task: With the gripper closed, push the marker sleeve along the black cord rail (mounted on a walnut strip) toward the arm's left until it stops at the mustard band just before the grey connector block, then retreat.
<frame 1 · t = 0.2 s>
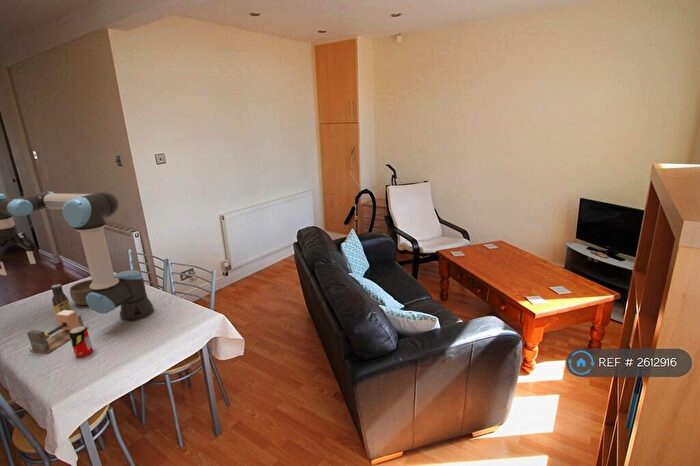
hand: (18, 269, 177), 28 cm above the table, fingers open, 13 cm apart
sauce bottle: (66, 322, 182), on the table
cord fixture: (60, 339, 168), on the table
marker sleeve: (67, 320, 171), point 7 cm above the table, slide at 0.0 cm
beverage can: (84, 353, 157), on the table
bowl: (92, 301, 203), on the table
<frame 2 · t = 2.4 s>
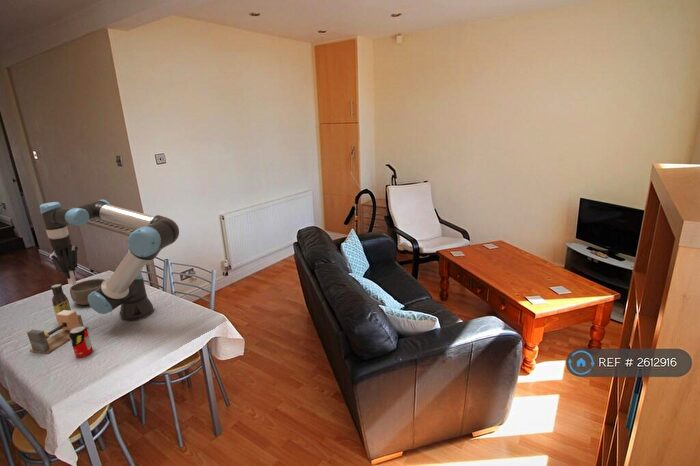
hand: (72, 283, 172), 22 cm above the table, fingers closed
nothing on the table moved.
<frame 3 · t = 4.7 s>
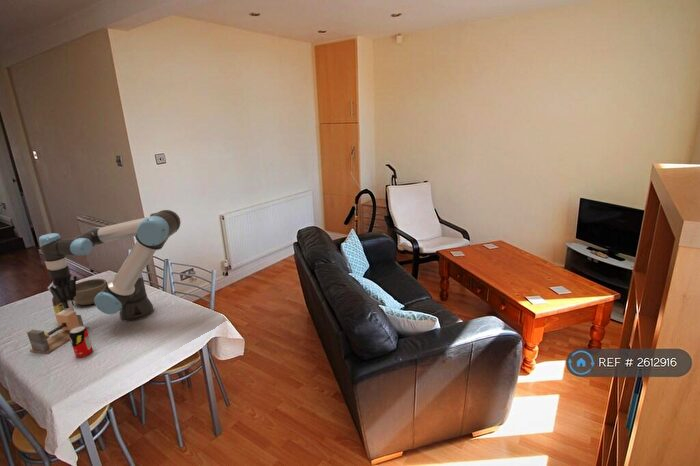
hand: (71, 313, 172), 9 cm above the table, fingers closed
marker sleeve: (67, 320, 171), point 7 cm above the table, slide at 0.1 cm, touching gripper
everything else where it was.
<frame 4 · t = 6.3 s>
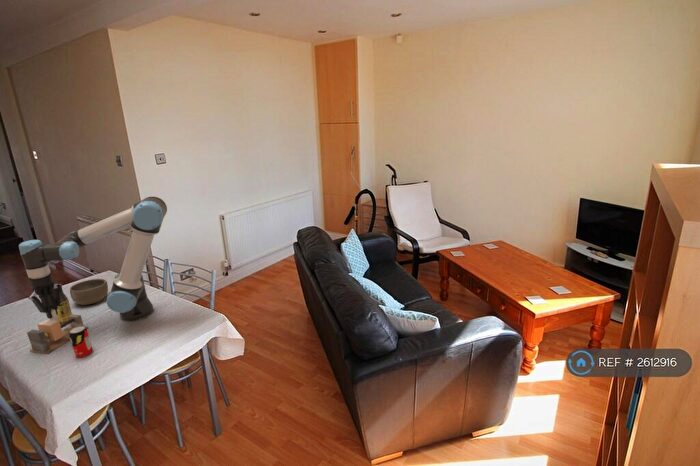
hand: (55, 322, 165), 9 cm above the table, fingers closed
marker sleeve: (50, 330, 163), point 7 cm above the table, slide at 8.4 cm, touching gripper
everything else where it was.
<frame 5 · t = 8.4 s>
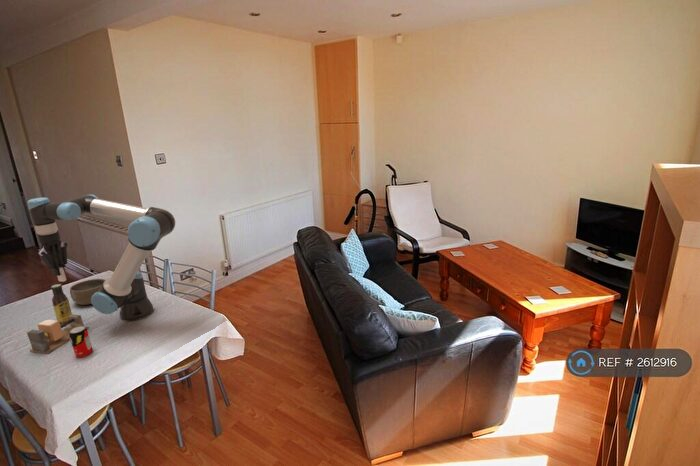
hand: (62, 280, 170), 25 cm above the table, fingers closed
marker sleeve: (50, 330, 163), point 7 cm above the table, slide at 8.4 cm
everything else where it was.
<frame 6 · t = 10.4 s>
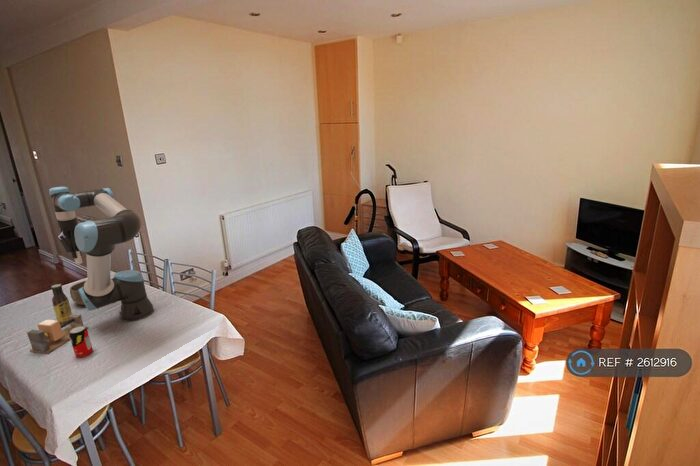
hand: (79, 263, 185), 26 cm above the table, fingers closed
nothing on the table moved.
at the end: marker sleeve slide at 8.4 cm; the gripper is holding nothing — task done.
